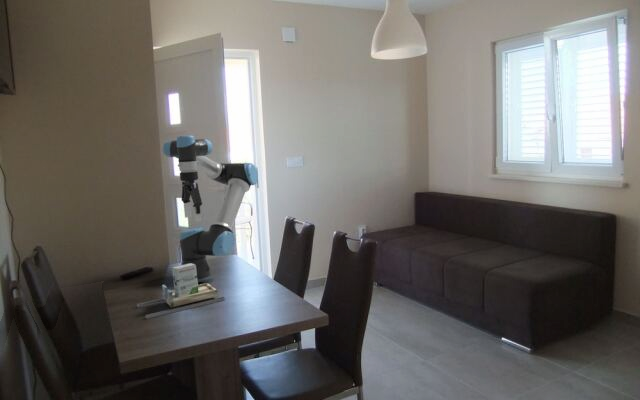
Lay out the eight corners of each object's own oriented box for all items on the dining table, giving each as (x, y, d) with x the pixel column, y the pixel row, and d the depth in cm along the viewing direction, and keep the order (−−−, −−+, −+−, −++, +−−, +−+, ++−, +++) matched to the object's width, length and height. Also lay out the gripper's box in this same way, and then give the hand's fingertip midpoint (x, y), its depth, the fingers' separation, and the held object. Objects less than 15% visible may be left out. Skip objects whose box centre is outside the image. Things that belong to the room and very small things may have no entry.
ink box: (193, 289, 194) (191, 262, 193) (199, 292, 191) (196, 264, 189) (174, 295, 189) (171, 266, 187) (179, 297, 185) (176, 269, 183)
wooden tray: (163, 302, 190) (161, 285, 189) (208, 292, 201) (206, 275, 200) (171, 310, 180) (169, 292, 179) (217, 299, 191) (216, 282, 190)
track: (137, 306, 187) (137, 304, 187) (211, 290, 203) (210, 287, 203) (146, 318, 174) (146, 315, 173) (224, 300, 190) (224, 297, 190)
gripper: (171, 170, 209) (176, 216, 212) (189, 173, 188) (194, 224, 192) (187, 169, 213) (192, 214, 216) (206, 171, 192) (211, 221, 196)
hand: (193, 219), depth 204 cm, fingers open, 13 cm apart
